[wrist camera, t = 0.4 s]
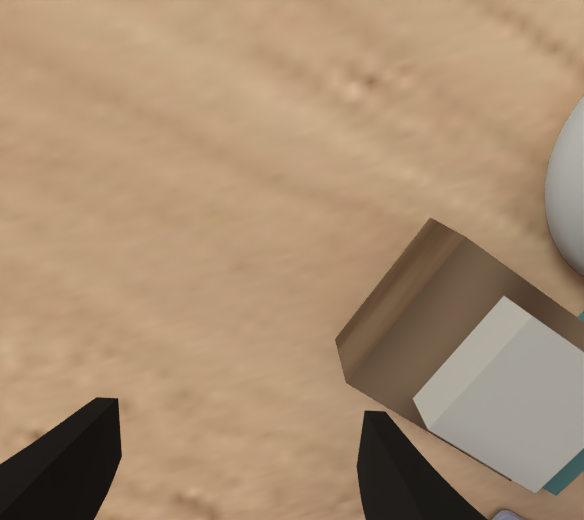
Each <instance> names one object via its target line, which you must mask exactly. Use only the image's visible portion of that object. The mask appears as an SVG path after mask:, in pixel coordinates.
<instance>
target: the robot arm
mask: <svg viewBox="0 0 584 520" xmlns="http://www.w3.org/2000/svg"><path fill="white" fill-rule="evenodd" d="M121 457H122V452H121V437H120V421H119V406H118V398H99V397H97V398H95V399H94V400H92V401H91V402H89V403H88V404H86V405H85V406H84V407H82V408H81V409H79V410H78V411H77V412H75V413H74V414H72V415H71V416H70V417H68V418H67V419H66V420H64V421H63V422H61V423H60V424H59V425H57V426H56V427H54V428H53V429H52V430H50V431H49V432H47V433H46V434H45V435H43V436H42V437H40V438H39V439H38V440H36V441H35V442H33V443H32V444H30V445H29V446H27V447H26V448H24V449H23V450H21V451H20V452H18V453H17V454H15V455H14V456H12V457H11V458H9V459H8V460H6V461H5V462H3V463H1V464H0V520H94V518H95V516H96V515H97V513H98V511H99V509H100V507H101V505H102V503H103V501H104V499H105V497H106V495H107V493H108V491H109V488H110V486H111V483H112V481H113V478H114V476H115V473H116V471H117V468H118V465H119V462H120V460H121ZM357 472H358V480H359V488H360V494H361V501H362V506H363V510H364V514H365V518H366V520H487V519H486V518H485V517H484V516H483V515H482V514H481V513H479V512H478V511H477V510H476V509H475V508H474V507H473V506H471V505H470V504H469V503H468V502H467V501H466V500H465V499H464V498H463V497H462V496H461V495H460V494H459V493H458V492H457V491H456V490H455V489H454V488H453V487H452V486H451V485H450V484H449V483H448V482H447V481H446V480H445V479H444V478H443V477H442V476H441V475H440V474H439V473H438V472H437V471H436V470H435V469H434V468H433V467H432V466H431V465H430V463H429V462H428V461H427V460H426V459H425V458H424V457H423V456H422V455H421V453H420V452H419V451H418V450H417V449H416V448H415V447H414V445H413V444H412V443H411V442H410V441H409V439H408V438H407V437H406V436H405V435H404V433H403V432H402V431H401V430H400V429H399V427H398V426H397V425H396V424H395V423H394V421H393V420H392V419H391V418H390V417H389V415H388V414H387V413H386V412H384V411H365V413H364V420H363V427H362V434H361V441H360V447H359V454H358V461H357ZM492 520H525V519H523V518H521V517H519V516H518V515H516V514H514V513H513V512H511V511H508V510H503V511H500V512H499V513H498V514H497V515H496V516H495V517H494V518H493V519H492Z"/></svg>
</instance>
